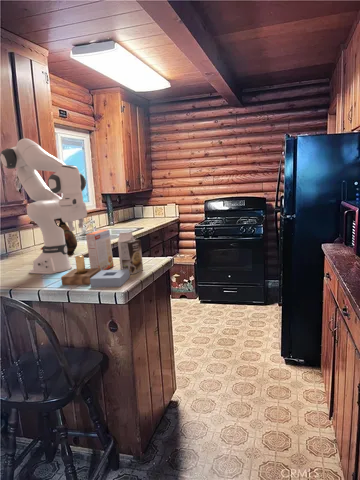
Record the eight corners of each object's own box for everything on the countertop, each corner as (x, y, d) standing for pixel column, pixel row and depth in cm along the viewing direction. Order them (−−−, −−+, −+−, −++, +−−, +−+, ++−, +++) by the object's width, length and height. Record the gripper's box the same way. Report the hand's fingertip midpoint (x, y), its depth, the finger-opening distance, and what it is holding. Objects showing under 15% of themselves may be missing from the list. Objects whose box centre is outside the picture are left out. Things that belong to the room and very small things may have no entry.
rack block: (62, 285, 165) (61, 276, 164) (75, 276, 178) (74, 268, 177) (90, 284, 162) (89, 276, 162) (101, 275, 176) (100, 268, 175)
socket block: (90, 287, 158) (89, 278, 157) (102, 278, 172) (101, 270, 171) (120, 286, 156) (119, 277, 155) (129, 277, 170) (128, 269, 169)
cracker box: (104, 266, 196) (100, 229, 192) (114, 266, 194) (110, 229, 190) (90, 273, 183) (85, 233, 179) (99, 273, 181) (95, 233, 177)
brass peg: (76, 281, 169) (73, 257, 167) (80, 279, 173) (77, 255, 170) (84, 281, 168) (81, 257, 166) (87, 279, 172) (85, 255, 170)
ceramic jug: (76, 251, 245) (71, 208, 240) (79, 254, 231) (74, 209, 226) (51, 254, 238) (45, 210, 233) (52, 258, 224) (46, 212, 219)
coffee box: (132, 274, 174) (129, 243, 171) (122, 273, 177) (119, 242, 174) (143, 270, 182) (141, 239, 179) (134, 268, 185) (131, 239, 182)
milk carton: (133, 269, 185) (129, 233, 181) (120, 269, 186) (116, 234, 183) (137, 265, 192) (134, 231, 188) (125, 265, 193) (121, 231, 190)
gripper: (76, 198, 174) (79, 226, 177) (56, 202, 155) (60, 233, 157) (88, 198, 173) (91, 225, 176) (69, 201, 154) (73, 232, 156)
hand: (76, 229), depth 166 cm, fingers open, 8 cm apart
